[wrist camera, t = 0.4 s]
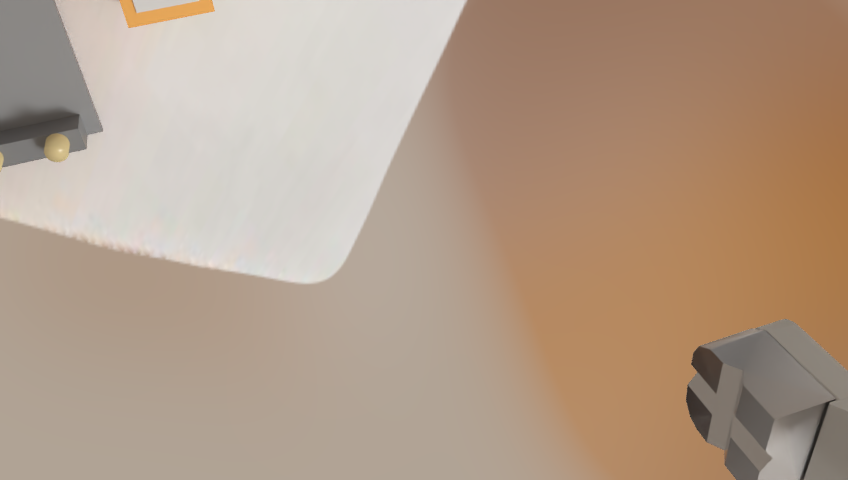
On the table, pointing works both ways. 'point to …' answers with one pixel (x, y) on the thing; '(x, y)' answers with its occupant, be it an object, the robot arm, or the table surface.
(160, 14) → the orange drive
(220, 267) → the table surface
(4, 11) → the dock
